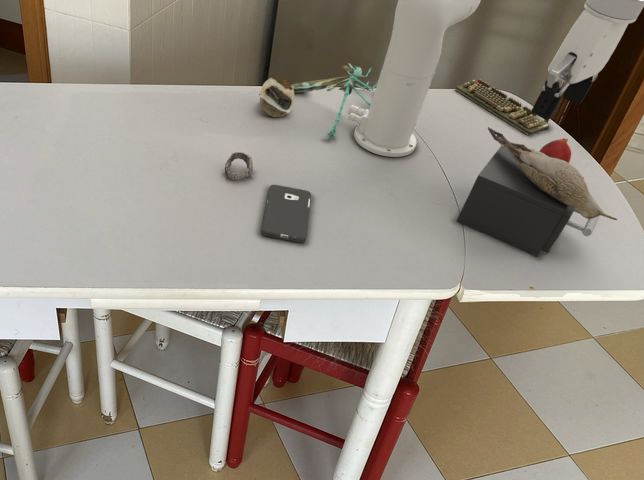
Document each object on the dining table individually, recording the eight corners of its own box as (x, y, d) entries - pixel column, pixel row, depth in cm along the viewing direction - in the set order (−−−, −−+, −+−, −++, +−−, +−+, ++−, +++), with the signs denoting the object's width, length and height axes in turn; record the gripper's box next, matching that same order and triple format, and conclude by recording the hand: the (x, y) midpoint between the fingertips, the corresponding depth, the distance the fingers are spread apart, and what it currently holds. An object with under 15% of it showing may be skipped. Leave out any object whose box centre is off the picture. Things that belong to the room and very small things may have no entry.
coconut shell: (293, 118, 145) (277, 114, 150) (299, 78, 141) (283, 76, 147) (260, 116, 141) (245, 112, 147) (266, 76, 138) (250, 73, 143)
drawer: (588, 232, 123) (612, 196, 117) (571, 264, 117) (596, 227, 111) (492, 192, 129) (511, 156, 123) (471, 221, 123) (490, 184, 117)
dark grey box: (556, 222, 126) (584, 177, 119) (537, 257, 119) (565, 210, 112) (479, 190, 131) (501, 145, 124) (456, 221, 124) (478, 175, 117)
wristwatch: (234, 159, 131) (258, 167, 129) (220, 180, 128) (244, 188, 127) (235, 144, 128) (259, 152, 127) (220, 165, 125) (245, 173, 124)
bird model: (609, 213, 104) (592, 238, 108) (636, 204, 106) (618, 228, 110) (482, 112, 120) (471, 137, 123) (508, 105, 121) (496, 130, 125)
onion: (528, 175, 136) (547, 139, 130) (532, 162, 140) (551, 126, 134) (558, 185, 135) (579, 149, 129) (561, 171, 138) (582, 135, 132)
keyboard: (453, 89, 159) (456, 81, 157) (479, 82, 162) (483, 73, 161) (527, 136, 147) (531, 127, 145) (554, 127, 150) (558, 118, 149)
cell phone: (306, 239, 115) (305, 244, 116) (312, 190, 125) (310, 195, 126) (261, 230, 116) (260, 235, 116) (270, 182, 125) (269, 187, 126)
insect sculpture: (266, 140, 143) (296, 72, 162) (361, 155, 139) (381, 83, 157) (268, 114, 139) (298, 47, 157) (366, 128, 134) (386, 57, 152)
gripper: (620, -18, 107) (562, 85, 120) (562, 2, 99) (507, 110, 112) (665, 2, 104) (601, 106, 117) (609, 24, 96) (547, 133, 109)
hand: (555, 108), depth 114 cm, fingers open, 9 cm apart
